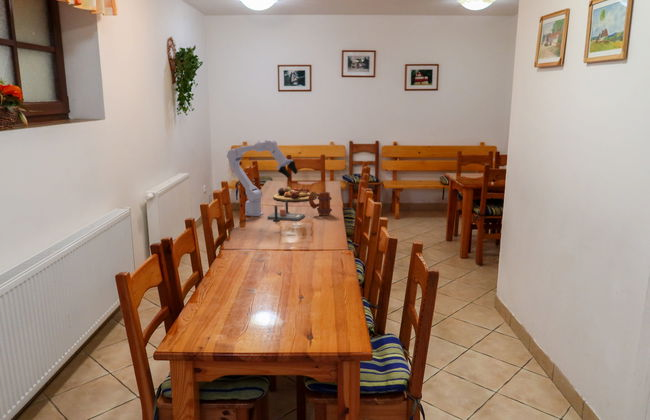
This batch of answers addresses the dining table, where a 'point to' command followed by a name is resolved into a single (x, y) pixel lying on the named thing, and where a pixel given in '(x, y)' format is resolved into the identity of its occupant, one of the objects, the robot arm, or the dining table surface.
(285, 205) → the post
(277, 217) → the post
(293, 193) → the wooden plate with food
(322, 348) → the dining table surface
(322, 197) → the mug
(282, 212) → the knob
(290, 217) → the breaker panel
